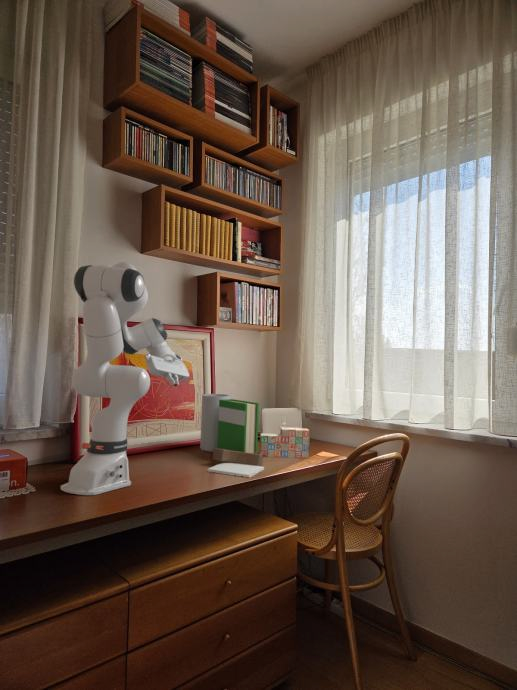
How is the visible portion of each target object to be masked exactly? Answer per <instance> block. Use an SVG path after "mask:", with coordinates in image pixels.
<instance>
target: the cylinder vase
mask: <svg viewBox="0 0 517 690" xmlns="http://www.w3.org/2000/svg"><path fill="white" fill-rule="evenodd" d="M225 399H230V395H229V394H224V393H223V394H222V393H205V394H202V395H201V416H200V417H201V420H200V421H201V422H200V443H199V445H200V446H199V447H200V450H201V451H203V452H206V453H207V452H209V453H213V449H214V448H218V422H219V400H225Z"/></svg>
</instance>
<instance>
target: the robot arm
mask: <svg viewBox="0 0 517 690" xmlns="http://www.w3.org/2000/svg"><path fill="white" fill-rule="evenodd" d="M73 286H74V289H75V291H76V293H77V295H78V296H79V297H80V299H81V301H82V302H83V307H82V322H83V331H84V335H85V342H86V358H85V361H84V362H83V363H82V364H81V365H79V366H78V367H77V368H76V369H75V370H74V372H73V374H72V377H71V384H72V388H73V390H74V391H75V392H76V394H78V395H81V396H84V397H89V398H109V399H110V402H109V405H108V406H106V407H103V408H102V409H100V410H97V411H96V412H95V414H94V415H93V417H92V421H91V422H92V424H91V439H90V440H89V442H82V444H81V449H83V450H86V453H85V454H84V455H83V456H82V457H81V458H80V459H79V460H78V461H77V463H76V464H75V465H73V467H71V470H70V473H69V477H68V482H66V483H64V484H62V485H60V491H63V492H65V493H68V494H75V495H79V496H96V495H100V494H103V493H107V492H110V491H114V490H118V489H121V488H125V487H129V486H131V485H132V481H131V480H130V475H129V474H130V473H129V472H130V471H129V458H128V456H127V450H128V446H129V445H128V444H129V443H128V437H127V430H128V429H127V427H128V420H129V416H130V413H131V410H132V408H133V407H134V405H135V404H136V403H137V402H138V401H139V400H140V399H142V398H143V397H145V395H146V394H147V393H148V392H149V389H150V387H151V378H150V375H152V376H155V377H156V376H157V377H161V378H165V379H166V380H167V381H168V382H169V384H170V385H171V386H174V387H178V386H180V382H186V381H187V380H188V379H190V378H189V377H190V372H189V370H188V368H187V367H186V365H185V363H184V362H183V357H182V356H180V355H178V354H177V353H175V352H174V351H173V350H172V349H171V347H170V346H169V345H168V344H167V343H168V342H167V339H168V333H167V331H166V330H165V328H164V327H165V326H164V325H163V323H162V322H161V320H159V319H158V318H154V317H153V318H150V319H147V320H144V321H141V322H140V323H137V324H135V325H134V326H131V327H128V325H127V324H128V321H129V320H130V319H131V318H132V317H133V316H135V315H137V314H138V313H139V312H141V311H142V310H143V309H144V308H145V306H146V305H147V303H148V300H149V293H148V289H147V287H146V283H145V279H144V276H143V275H142V274H141V273H140V271H138V270H137V269H136V267H135V266H134V265H133V264H132V263H130V262H123V261H122V262H120V261H119V262H118V263H115V264H114V265H113V266H112V265H92V264H89V265H88V264H87V265H83V266H80V267H79V268H78V269H77V271H76V272H75V273H74V279H73ZM144 349H146V351H147V352H148V353H147V354H145V355H144V358H145V364H146V366H147V370H148V371H147V370H146V369H145V368H143V367H138V366H135V365H122V364H120V365H119V364H118V365H117V364H111V363H110V362H111V361H113V360H115V359H116V358H118V357H119V356H120V355H121V354H122V353H124V354H127V355H135V354H136V353H138V352H139V351H141V350H144ZM149 374H150V375H149Z"/></svg>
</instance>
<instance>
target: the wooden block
mask: <svg viewBox="0 0 517 690" xmlns="http://www.w3.org/2000/svg"><path fill="white" fill-rule="evenodd" d="M211 459H212V460H213V461H220V462H225V461H226V462H233V463H240V464H247V465H255V466H262V464H263V455H261V454H260V453H257V454H254V453H246V452H239V451H231V450H225V449H218V448H214V449H213V452H212V457H211Z"/></svg>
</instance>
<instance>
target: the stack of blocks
mask: <svg viewBox="0 0 517 690" xmlns="http://www.w3.org/2000/svg"><path fill="white" fill-rule="evenodd" d="M259 436H260V437H259V454H261V455H263V457H266V458H267V457H268V458H294V459H295V458H297V459H309V457H310V456H309V454H310V453H309V452H310V429H308V428H306V427H304V428H303V427H284V426H281V427H280V432H279V433H264V432H263V433H260V435H259ZM263 457H262V458H263Z"/></svg>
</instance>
